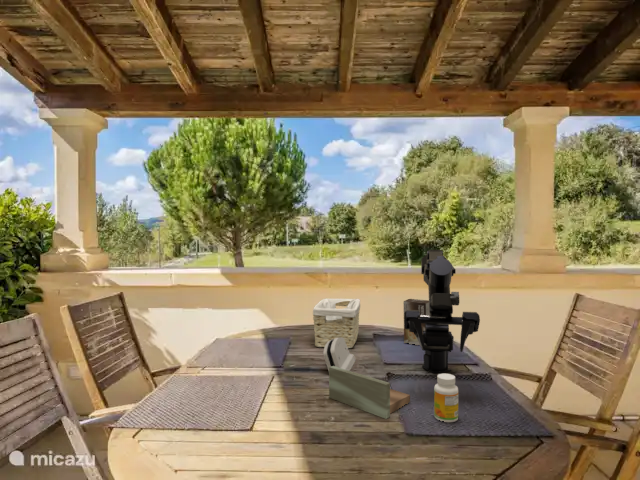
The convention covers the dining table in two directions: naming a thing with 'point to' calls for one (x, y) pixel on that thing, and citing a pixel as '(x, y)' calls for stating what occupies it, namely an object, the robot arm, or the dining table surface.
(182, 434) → the dining table surface
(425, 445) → the dining table surface
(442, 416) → the supplement bottle
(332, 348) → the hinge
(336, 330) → the storage basket
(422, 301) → the coffee box
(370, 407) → the wall board ledge
